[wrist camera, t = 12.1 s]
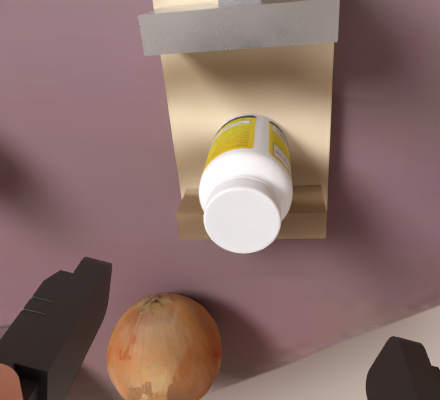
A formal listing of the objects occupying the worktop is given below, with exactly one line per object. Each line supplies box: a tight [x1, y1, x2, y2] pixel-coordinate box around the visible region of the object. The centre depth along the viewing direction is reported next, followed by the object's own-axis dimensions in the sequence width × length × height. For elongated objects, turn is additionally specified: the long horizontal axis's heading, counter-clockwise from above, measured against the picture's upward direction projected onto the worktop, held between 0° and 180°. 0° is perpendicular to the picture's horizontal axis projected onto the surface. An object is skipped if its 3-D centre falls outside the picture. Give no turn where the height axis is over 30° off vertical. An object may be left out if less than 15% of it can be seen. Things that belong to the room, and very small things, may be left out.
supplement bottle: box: [199, 114, 293, 253], centre depth 25 cm, size 5×5×10 cm
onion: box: [107, 293, 222, 400], centre depth 36 cm, size 10×10×10 cm
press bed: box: [153, 0, 334, 240], centre depth 26 cm, size 23×11×6 cm, turn 5°
